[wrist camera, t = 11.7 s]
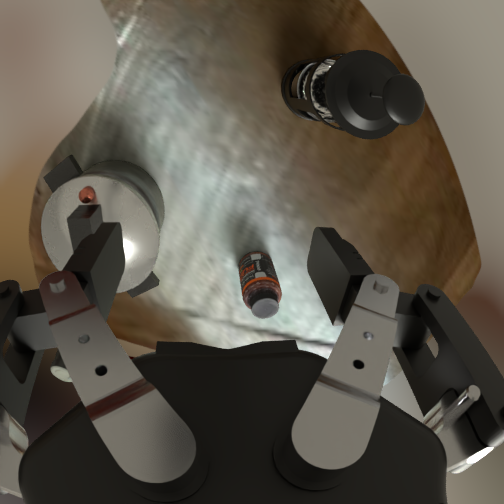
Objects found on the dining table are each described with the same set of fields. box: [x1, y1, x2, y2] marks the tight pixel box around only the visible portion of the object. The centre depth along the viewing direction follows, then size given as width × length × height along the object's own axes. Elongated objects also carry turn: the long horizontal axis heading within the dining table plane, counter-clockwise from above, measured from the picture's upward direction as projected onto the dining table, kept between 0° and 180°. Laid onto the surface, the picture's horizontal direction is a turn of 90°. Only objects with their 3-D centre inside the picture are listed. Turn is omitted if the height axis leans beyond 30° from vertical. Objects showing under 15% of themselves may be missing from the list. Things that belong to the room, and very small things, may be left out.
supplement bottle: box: [239, 252, 282, 319], centre depth 47 cm, size 6×6×11 cm
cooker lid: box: [41, 174, 160, 293], centre depth 33 cm, size 17×17×5 cm
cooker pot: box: [44, 155, 165, 298], centre depth 39 cm, size 22×17×9 cm
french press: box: [282, 50, 425, 139], centre depth 28 cm, size 12×9×23 cm
